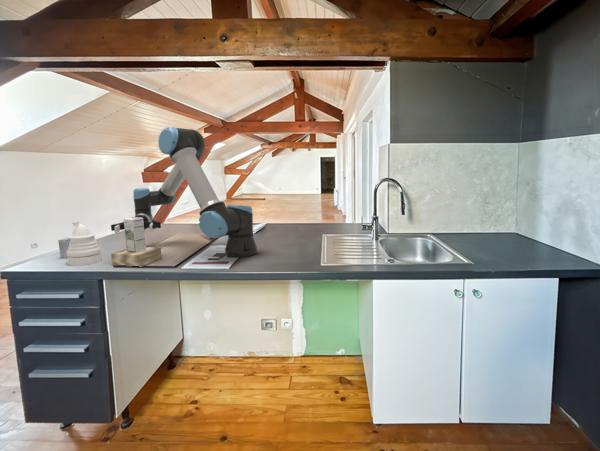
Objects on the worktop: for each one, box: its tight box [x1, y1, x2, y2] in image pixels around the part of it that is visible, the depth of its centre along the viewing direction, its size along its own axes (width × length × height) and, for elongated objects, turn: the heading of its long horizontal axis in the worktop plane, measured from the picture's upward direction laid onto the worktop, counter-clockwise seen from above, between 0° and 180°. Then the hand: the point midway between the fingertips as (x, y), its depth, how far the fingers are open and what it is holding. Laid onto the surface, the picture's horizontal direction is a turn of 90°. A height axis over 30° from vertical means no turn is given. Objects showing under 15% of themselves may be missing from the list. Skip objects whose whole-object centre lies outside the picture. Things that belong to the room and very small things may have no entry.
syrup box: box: [123, 216, 147, 252], centre depth 154 cm, size 6×6×14 cm
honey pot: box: [66, 221, 103, 266], centre depth 157 cm, size 13×13×18 cm
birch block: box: [110, 246, 162, 268], centre depth 156 cm, size 14×14×5 cm
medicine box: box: [57, 237, 70, 259], centre depth 168 cm, size 8×4×9 cm, turn 168°
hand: (133, 229), depth 151 cm, fingers open, 13 cm apart
